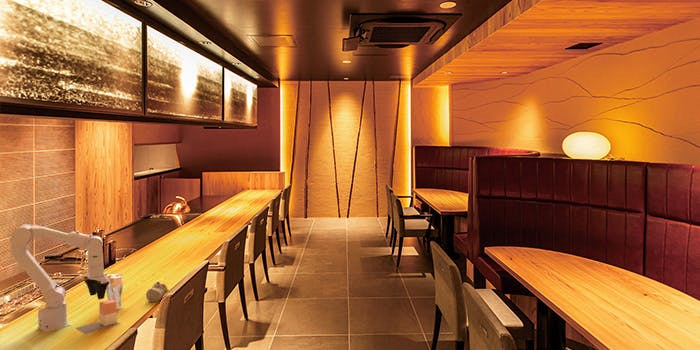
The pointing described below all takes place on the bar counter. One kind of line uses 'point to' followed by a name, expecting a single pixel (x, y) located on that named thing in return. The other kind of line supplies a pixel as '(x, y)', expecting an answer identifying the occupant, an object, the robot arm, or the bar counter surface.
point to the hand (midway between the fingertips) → (97, 296)
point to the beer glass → (115, 288)
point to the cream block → (108, 319)
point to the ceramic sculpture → (156, 292)
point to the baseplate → (94, 327)
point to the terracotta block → (107, 307)
